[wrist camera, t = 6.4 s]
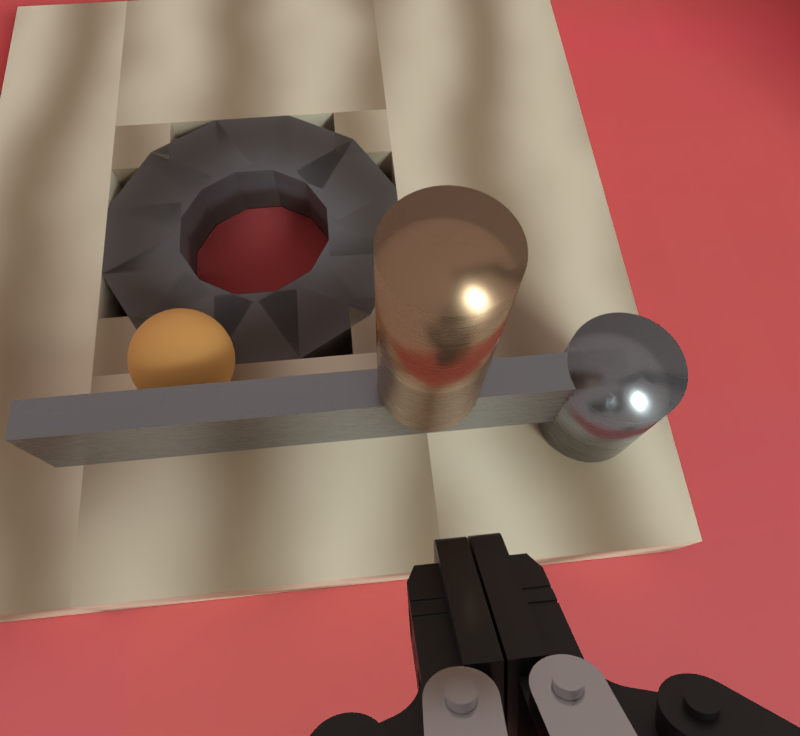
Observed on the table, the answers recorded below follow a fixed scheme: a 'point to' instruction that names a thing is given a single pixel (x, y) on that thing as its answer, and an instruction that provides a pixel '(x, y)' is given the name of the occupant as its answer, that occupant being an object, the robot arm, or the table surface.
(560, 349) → the board
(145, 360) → the ball
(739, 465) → the table surface
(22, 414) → the catapult lever
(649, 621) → the table surface
